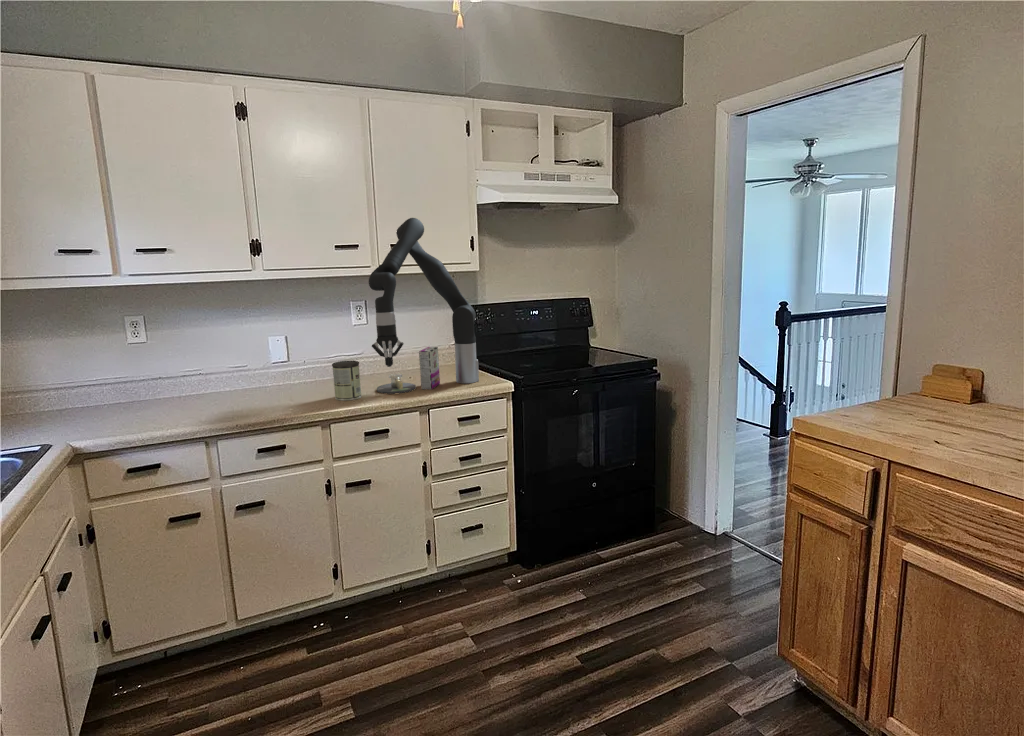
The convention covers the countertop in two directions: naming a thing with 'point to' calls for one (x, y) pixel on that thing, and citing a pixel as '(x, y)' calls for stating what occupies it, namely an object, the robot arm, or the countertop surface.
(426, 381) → the candy bar box
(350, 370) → the coffee can
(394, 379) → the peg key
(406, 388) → the dial plate
